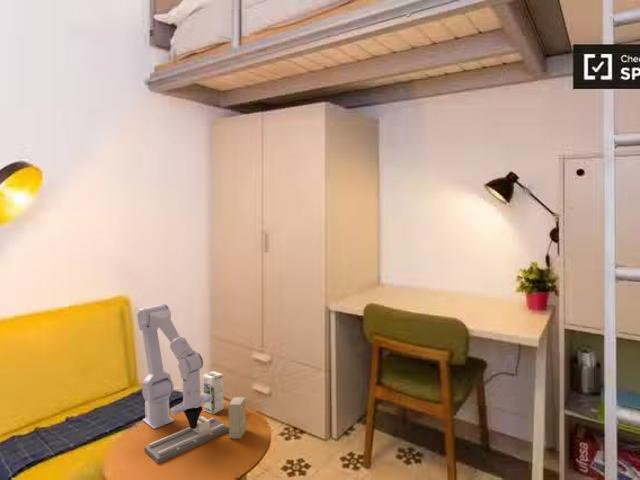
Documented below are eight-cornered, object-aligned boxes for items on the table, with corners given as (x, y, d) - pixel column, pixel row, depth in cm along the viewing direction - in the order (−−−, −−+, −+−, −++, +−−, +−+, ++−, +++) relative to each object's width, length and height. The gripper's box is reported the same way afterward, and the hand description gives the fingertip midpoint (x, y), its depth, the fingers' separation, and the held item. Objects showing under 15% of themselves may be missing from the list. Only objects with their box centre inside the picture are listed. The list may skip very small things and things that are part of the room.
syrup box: (203, 410, 163) (202, 375, 162) (214, 405, 168) (213, 370, 167) (213, 414, 160) (211, 378, 159) (224, 408, 165) (223, 373, 164)
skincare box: (240, 439, 142) (240, 405, 141) (228, 438, 143) (227, 404, 142) (246, 429, 148) (245, 397, 148) (234, 429, 149) (233, 396, 148)
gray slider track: (144, 451, 136) (144, 443, 136) (213, 421, 155) (213, 415, 154) (158, 463, 129) (157, 455, 129) (228, 431, 148) (228, 424, 148)
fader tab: (192, 429, 146) (191, 418, 145) (202, 425, 148) (202, 414, 148) (199, 434, 142) (199, 423, 142) (210, 430, 145) (209, 419, 145)
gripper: (177, 400, 134) (178, 440, 135) (216, 386, 144) (217, 423, 145) (167, 393, 139) (168, 432, 140) (205, 380, 149) (207, 416, 150)
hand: (193, 427), depth 143 cm, fingers closed
